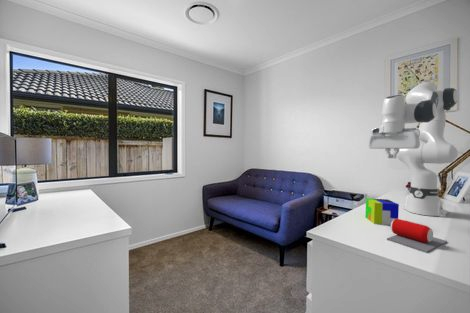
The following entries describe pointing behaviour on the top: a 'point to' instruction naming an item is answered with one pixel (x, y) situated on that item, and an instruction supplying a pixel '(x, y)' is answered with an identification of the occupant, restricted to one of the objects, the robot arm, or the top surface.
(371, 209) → the puzzle toy
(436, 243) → the mat
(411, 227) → the beverage can
